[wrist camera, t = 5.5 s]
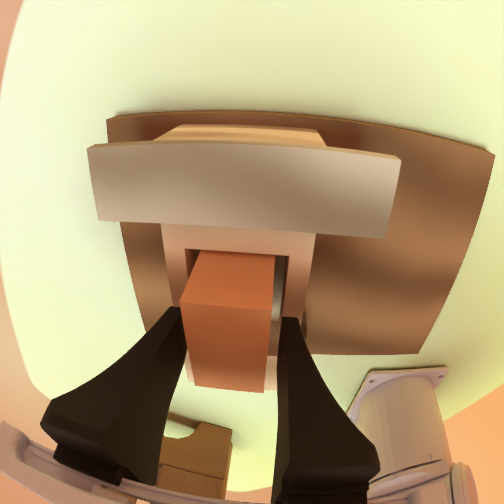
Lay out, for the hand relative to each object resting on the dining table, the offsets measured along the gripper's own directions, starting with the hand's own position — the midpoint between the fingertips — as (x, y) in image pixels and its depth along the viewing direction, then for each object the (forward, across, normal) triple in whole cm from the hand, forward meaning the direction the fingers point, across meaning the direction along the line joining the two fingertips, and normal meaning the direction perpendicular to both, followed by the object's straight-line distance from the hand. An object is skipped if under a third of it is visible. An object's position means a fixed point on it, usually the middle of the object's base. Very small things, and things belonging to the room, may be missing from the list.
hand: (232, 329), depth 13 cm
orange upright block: (+4, 0, 0) cm, 4 cm away
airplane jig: (+6, -3, 0) cm, 6 cm away
